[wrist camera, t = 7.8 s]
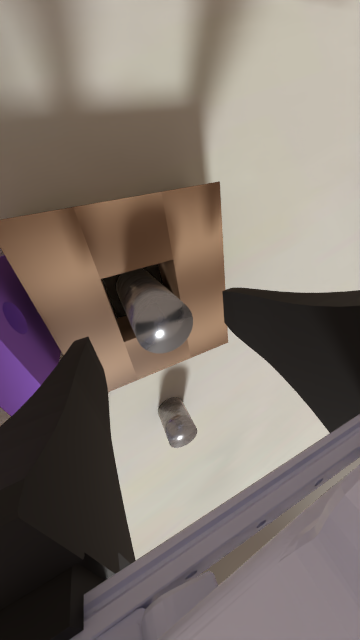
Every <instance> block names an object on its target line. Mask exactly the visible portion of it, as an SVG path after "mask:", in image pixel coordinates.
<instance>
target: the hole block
mask: <svg viewBox="0 0 360 640" xmlns="http://www.w3.org/2000/svg"><path fill="white" fill-rule="evenodd" d="M0 248H1V249H2V251H3V253H4V255H5V256H6V258H7V260H8V261H9V263H10V265H11V266H12V268H13V270H14V272H15V273H16V275H17V277H18V278H19V280H20V282H21V284H22V285H23V287H24V289H25V290H26V292H27V294H28V295H29V297H30V299H31V301H32V302H33V304H34V306H35V307H36V309H37V311H38V313H39V314H40V316H41V318H42V319H43V321H44V323H45V324H46V326H47V328H48V330H49V331H50V333H51V335H52V336H53V338H54V340H55V341H56V343H57V345H58V347H59V348H60V350H61V352H62V353H63V355H64V354H65V353H66V352H67V350H68V349H69V347H70V346H71V345H72V343H73V342H74V341H76V340H79V339H82V338H85V337H89V339H90V341H91V343H92V345H93V347H94V350H95V352H96V354H97V356H98V358H99V360H100V362H101V364H102V366H103V368H104V372H105V377H106V382H107V387H108V392H110V391H112V390H115V389H117V388H119V387H122V386H124V385H127V384H129V383H131V382H134V381H136V380H139V379H141V378H143V377H146V376H148V375H151V374H153V373H155V372H158V371H160V370H163V369H165V368H167V367H170V366H172V365H175V364H177V363H180V362H182V361H184V360H187V359H189V358H192V357H194V356H196V355H199V354H201V353H204V352H206V351H208V350H211V349H213V348H216V347H218V346H220V345H223V344H225V343H228V333H227V325H226V324H225V323H224V310H223V294H222V291H224V290H225V275H224V255H223V236H222V217H221V198H220V182H215V183H209V184H203V185H197V186H192V187H186V188H180V189H174V190H168V191H163V192H157V193H151V194H145V195H140V196H134V197H128V198H122V199H117V200H111V201H105V202H99V203H94V204H88V205H82V206H76V207H70V208H65V209H59V210H53V211H47V212H42V213H36V214H30V215H24V216H19V217H13V218H7V219H1V220H0ZM155 264H158V265H159V269H160V274H161V279H162V283H163V285H164V286H165V287H166V288H167V289H168V290H169V291H170V292H172V293H173V294H174V295H175V296H176V297H177V298H179V299H180V300H181V301H182V302H183V303H184V304H185V305H186V306H187V307H188V308H189V309H190V311H191V313H192V316H193V327H192V331H191V333H190V335H189V337H188V338H187V340H186V341H185V342H184V343H183V344H182V345H181V346H179V347H178V348H176V349H175V350H172V351H170V352H167V353H152V352H149V351H147V350H145V349H144V348H143V347H142V346H141V345H140V344H139V342H138V340H137V338H136V336H135V333H134V331H133V329H132V326H131V324H130V322H129V319H128V317H127V315H126V316H123V317H120V318H116V315H115V313H114V310H113V307H112V305H111V302H110V299H109V296H108V294H107V291H106V288H105V286H104V283H103V280H102V279H103V278H106V277H110V276H114V275H117V274H121V273H125V272H129V271H132V270H136V269H140V268H143V267H147V266H151V265H155Z"/></svg>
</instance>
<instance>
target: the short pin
mask: <svg viewBox="0 0 360 640" xmlns="http://www.w3.org/2000/svg"><path fill="white" fill-rule="evenodd" d="M158 414H159V417H160V419H161V422H162V425H163V427H164V430H165V433H166V435H167V438H168V441H169V443H170V445H171V446H172V447H174V448H178V447H182V446H185V445H187V444H188V443H190V442H191V441H192V440H193V439H194V438H195V436H196V434H197V428H196V426H195V425H194V423H193V421H192V419H191V417H190V415H189V413H188V411H187V409H186V408H185V406H184V404H183V402H182V400H181V399H180V398H170V399H168V400H166V401H164V402H163V403H162V404H161V405H160V407H159V409H158Z"/></svg>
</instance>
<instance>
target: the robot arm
mask: <svg viewBox="0 0 360 640" xmlns="http://www.w3.org/2000/svg"><path fill="white" fill-rule="evenodd" d="M222 294H223V310H224V323H225V324H226V325H227V326H228V328H229V329H230V330H231V331H232V332H233V333H234V334H235V335H236V336H237V337H238V338H239V339H241V340H242V341H243V342H244V343H245V344H247V345H248V346H249V347H250V348H252V349H253V350H254V351H255V352H257V353H258V354H259V355H260V356H261V357H263V358H264V359H265V360H266V361H267V362H268V363H269V364H271V365H272V366H273V367H274V369H275V370H276V371H277V372H278V373H279V374H280V375H281V376H282V377H283V378H284V379H285V380H286V381H287V382H288V383H289V384H290V385H291V386H292V387H293V389H294V390H295V391H296V392H297V393H298V394H299V395H300V397H301V398H302V399H303V400H304V401H305V402H306V404H307V405H308V406H309V407H310V408H311V409H312V411H313V412H314V413H315V414H316V416H317V417H318V418H319V420H320V421H321V422H322V423H323V425H324V426H325V427H326V428H327V430H328V431H329V432H330V434H328V435H327V436H325V437H324V438H322V439H321V440H319V441H318V442H316V443H315V444H313V445H311V446H310V447H308V448H307V449H305V450H304V451H302V452H301V453H299V454H298V455H296V456H295V457H293V458H292V459H290V460H289V461H287V462H286V463H284V464H282V465H281V466H279V467H278V468H276V469H275V470H273V471H272V472H270V473H269V474H267V475H266V476H264V477H263V478H261V479H260V480H258V481H257V482H255V483H253V484H252V485H250V486H249V487H247V488H246V489H244V490H243V491H241V492H240V493H238V494H237V495H235V496H234V497H232V498H231V499H229V500H227V501H226V502H224V503H223V504H221V505H220V506H218V507H217V508H215V509H214V510H212V511H211V512H209V513H208V514H206V515H205V516H203V517H202V518H200V519H198V520H197V521H195V522H194V523H192V524H191V525H189V526H188V527H186V528H185V529H183V530H182V531H180V532H179V533H177V534H176V535H174V536H173V537H171V538H169V539H168V540H166V541H165V542H163V543H162V544H160V545H159V546H157V547H156V548H154V549H153V550H151V551H150V552H148V553H147V554H145V555H144V556H142V557H140V558H139V559H137V560H136V561H135V556H134V552H133V547H132V543H131V538H130V533H129V529H128V524H127V520H126V515H125V510H124V505H123V500H122V495H121V490H120V485H119V480H118V474H117V469H116V464H115V458H114V452H113V446H112V441H111V432H110V417H109V401H108V387H107V382H106V377H105V372H104V368H103V366H102V364H101V362H100V360H99V358H98V356H97V354H96V352H95V350H94V347H93V345H92V343H91V341H90V339H89V337H85V338H82V339H79V340H76V341H74V342H73V343H72V345H71V346H70V347H69V349H68V350H67V352H66V353H65V354H64V356H63V357H62V359H61V360H60V361H59V363H58V364H57V366H56V367H55V368H54V370H53V371H52V372H51V373H50V375H49V376H48V377H47V378H46V380H45V381H44V382H43V383H42V385H41V386H40V387H39V388H38V389H37V390H36V392H35V393H34V394H33V395H32V396H31V397H30V398H29V399H28V400H27V401H26V402H25V403H24V404H23V405H22V406H21V408H20V409H19V410H18V411H17V412H16V413H15V414H13V415H12V416H11V417H10V418H9V419H8V420H7V421H6V422H5V423H4V424H3V425H1V426H0V640H360V465H358V466H357V467H356V468H355V469H353V470H352V471H351V472H350V473H348V474H347V475H346V476H345V477H343V478H342V479H341V480H340V481H338V482H337V483H336V484H335V485H334V486H332V487H331V488H330V489H329V490H327V492H325V493H324V494H323V495H321V496H320V497H319V498H318V499H317V500H316V501H315V502H313V503H312V504H311V505H310V506H309V507H307V508H306V509H305V510H304V511H303V512H302V513H300V514H299V515H298V516H297V517H296V518H295V519H294V520H292V521H291V522H290V523H289V524H288V525H287V526H286V527H284V528H283V529H282V530H281V531H280V532H279V533H278V534H277V535H275V536H274V537H273V538H272V539H271V540H270V541H269V542H267V543H266V544H265V545H264V546H263V547H262V548H261V549H259V550H258V551H257V552H256V553H255V554H254V555H253V556H252V557H250V558H249V559H248V560H247V561H246V562H245V563H244V564H242V565H241V566H240V567H239V568H238V569H237V570H236V571H235V572H233V573H232V574H231V575H230V576H229V577H228V578H227V579H225V580H224V581H223V582H222V583H221V584H220V585H219V586H218V584H217V581H216V578H215V576H214V573H212V572H210V571H207V572H205V573H203V572H204V571H205V570H207V569H208V568H209V567H211V566H212V565H213V564H215V563H216V562H218V561H219V560H220V559H222V558H223V557H225V556H226V555H227V554H229V553H230V552H231V551H233V550H234V549H235V548H237V547H238V546H239V545H241V544H242V543H244V542H245V541H246V540H248V539H249V538H250V537H252V536H253V535H254V534H256V533H257V532H258V531H260V530H261V529H263V528H264V527H265V526H267V525H268V524H269V523H271V522H272V521H273V520H275V519H276V518H277V517H279V516H280V515H282V514H283V513H284V512H286V511H287V510H288V509H290V508H291V507H292V506H294V505H295V504H297V503H298V502H299V501H301V500H302V499H303V498H305V497H306V496H307V495H309V494H310V493H311V492H313V491H314V490H315V489H317V488H318V487H320V486H321V485H322V484H324V483H325V482H326V481H328V480H329V479H331V478H332V477H333V476H335V475H336V474H337V473H339V472H340V471H341V470H343V469H344V468H345V467H347V466H348V465H350V464H351V463H352V462H354V461H355V460H356V459H358V458H359V457H360V290H358V291H347V292H330V293H294V292H279V291H268V290H259V289H249V288H230V289H227V290H224V291H222ZM201 573H203V574H201ZM200 574H201V575H200Z"/></svg>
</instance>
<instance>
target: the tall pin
mask: <svg viewBox="0 0 360 640" xmlns="http://www.w3.org/2000/svg"><path fill="white" fill-rule="evenodd" d="M116 291H117V294H118V296H119V298H120V301H121V303H122V305H123V308H124V310H125V312H126V315H127V317H128V319H129V322H130V324H131V326H132V329H133V331H134V333H135V336H136V338H137V340H138V342H139V344H140V345H141V346H142V347H143V348H144V349H145V350H147V351H149V352H152V353H167V352H170V351H172V350H175V349H176V348H178V347H179V346H181V345H182V344H183V343H184V342H185V341H186V340H187V338H188V337H189V335H190V333H191V331H192V327H193V316H192V313H191V311H190V309H189V308H188V307H187V306H186V305H185V304H184V303H183V302H182V301H181V300H180V299H179V298H177V297H176V296H175V295H174V294H173V293H172V292H170V291H169V290H168V289H167V288H166V287H165V286H164V285H162V284H161V283H160V282H159V281H158V280H157V279H156V278H154V277H153V276H152V275H151V274H150V273H149V272H147V271H146V270H144V269H142V268H140V269H136V270H132V271H129V272H125V273H122V274H121V275H120V276H119V278H118V280H117V283H116Z"/></svg>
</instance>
